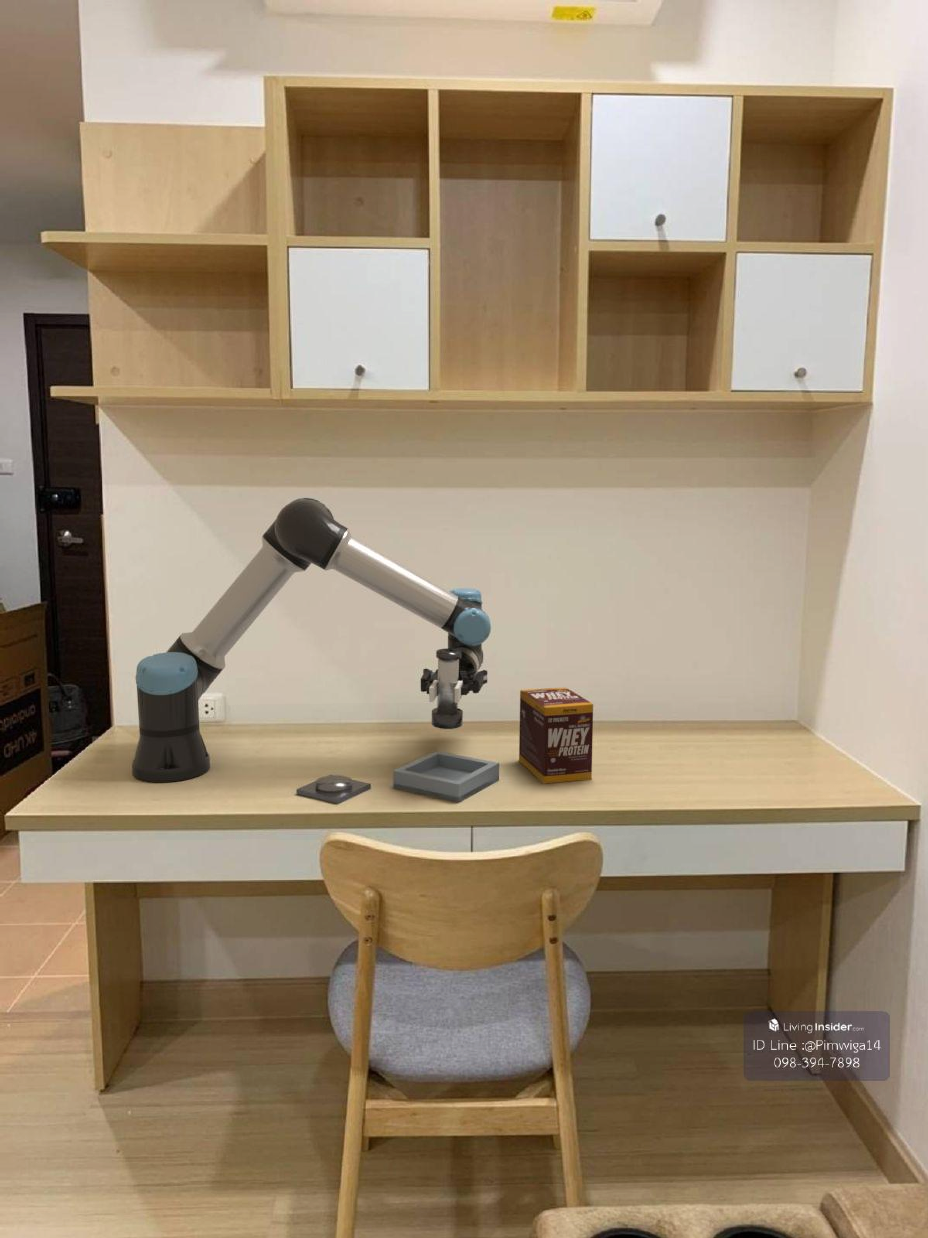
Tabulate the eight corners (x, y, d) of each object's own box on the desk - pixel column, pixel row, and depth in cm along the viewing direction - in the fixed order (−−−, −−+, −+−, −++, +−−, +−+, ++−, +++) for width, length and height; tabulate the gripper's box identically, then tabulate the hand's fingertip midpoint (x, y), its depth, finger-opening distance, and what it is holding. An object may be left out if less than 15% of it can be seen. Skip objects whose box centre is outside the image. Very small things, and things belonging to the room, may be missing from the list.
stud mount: (296, 794, 175) (296, 784, 175) (330, 779, 184) (330, 769, 184) (337, 804, 170) (337, 793, 170) (370, 788, 179) (370, 778, 178)
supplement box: (543, 784, 181) (544, 707, 179) (518, 761, 196) (519, 689, 193) (592, 779, 184) (594, 703, 182) (564, 757, 199) (565, 686, 196)
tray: (393, 788, 179) (393, 770, 178) (436, 767, 192) (436, 750, 191) (458, 802, 171) (458, 784, 171) (499, 779, 184) (499, 762, 183)
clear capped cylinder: (426, 725, 178) (427, 653, 175) (439, 716, 184) (441, 646, 180) (454, 730, 176) (456, 657, 173) (467, 721, 181) (469, 650, 178)
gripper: (499, 687, 196) (489, 716, 173) (419, 685, 198) (399, 713, 175) (499, 652, 194) (489, 676, 171) (419, 650, 196) (398, 674, 173)
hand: (444, 695), depth 173 cm, fingers closed on clear capped cylinder, 4 cm apart
